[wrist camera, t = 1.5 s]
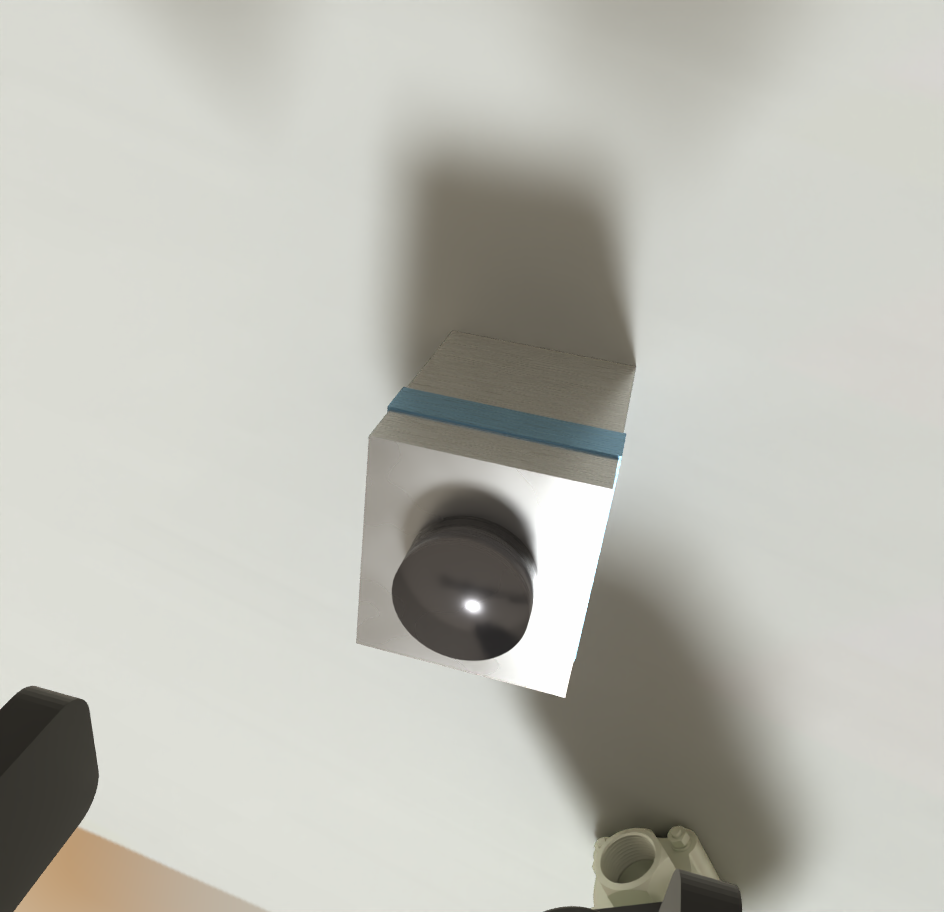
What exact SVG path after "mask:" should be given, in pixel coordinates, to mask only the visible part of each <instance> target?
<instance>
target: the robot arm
mask: <svg viewBox="0 0 944 912" xmlns="http://www.w3.org/2000/svg"><path fill="white" fill-rule="evenodd" d="M98 778H99V772H98V765H97V758H96V751H95V745H94V738H93V731H92V725H91V718H90V711H89V707H88V704H87V703H86V702H85V701H84V700H82V699H79V698H76V697H72V696H69V695H65V694H61V693H58V692H54V691H51V690H47V689H44V688H40V687H36V686H29V687H26V688H24V689H22V690H21V691H19V692H18V693H17V694H16V695H14V696H13V697H12V698H11V699H10V700H9V701H8V702H7V703H6V704H5V705H4V706H3V707H2V708H1V709H0V912H13V911H14V910H15V909H16V907H17V906H18V905H19V903H20V902H21V901H22V900H23V898H24V897H25V896H26V894H27V893H28V892H29V890H30V889H31V887H32V886H33V885H34V884H35V882H36V881H37V880H38V878H39V877H40V876H41V874H42V873H43V872H44V870H45V869H46V868H47V866H48V865H49V864H50V862H51V861H52V860H53V858H54V857H55V856H56V854H57V853H58V852H59V850H60V849H61V848H62V847H63V845H64V844H65V842H66V841H67V840H68V838H69V837H70V836H71V834H72V833H73V832H74V831H75V829H76V828H77V827H78V825H79V824H80V823H81V821H82V820H83V818H84V817H85V815H86V813H87V812H88V810H89V808H90V806H91V804H92V801H93V799H94V796H95V793H96V789H97V785H98ZM659 912H742V902H741V895H740V891H739V888H738V886H737V885H734V884H731V883H727V882H723V881H720V880H716V879H713V878H709V877H706V876H702V875H698V874H695V873H691V872H688V871H684V870H681V869H676V870H675V871H674V873H673V875H672V877H671V880H670V883H669V885H668V888H667V891H666V893H665V896H664V899H663V901H662V904H661V907H660V909H659Z"/></svg>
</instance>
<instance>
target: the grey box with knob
mask: <svg viewBox="0 0 944 912" xmlns="http://www.w3.org/2000/svg"><path fill="white" fill-rule="evenodd" d="M635 370H636V366H631V365H626V364H621V363H615V362H610V361H605V360H600V359H595V358H590V357H585V356H580V355H575V354H570V353H565V352H560V351H555V350H549V349H544V348H539V347H534V346H529V345H524V344H519V343H514V342H509V341H504V340H499V339H494V338H488V337H483V336H478V335H473V334H468V333H463V332H458V331H452V332H451V333H450V334H449V336H448V337H447V338H446V339H445V341H444V342H443V343H442V344H441V346H440V347H439V348H438V350H437V351H436V352H435V353H434V355H433V356H432V357H431V358H430V360H429V361H428V362H427V363H426V365H425V366H424V367H423V368H422V370H421V371H420V372H419V373H418V375H417V376H416V377H415V378H414V380H413V381H412V382H411V384H410V385H409V386H408V387H407V388H406V387H403V388H402V389H401V391H400V392H399V393H398V394H397V396H396V397H395V398H394V399H393V401H392V402H391V403H390V404H389V406H388V410H387V414H386V415H385V416H384V417H383V419H382V420H381V421H380V423H379V424H378V425H377V426H376V428H375V429H374V430H373V431H372V433H371V434H370V435H369V445H368V461H367V477H366V493H365V509H364V526H363V542H362V558H361V574H360V590H359V606H358V623H357V639H356V643H357V644H361V645H365V646H369V647H373V648H377V649H380V650H384V651H388V652H392V653H396V654H400V655H403V656H407V657H411V658H415V659H419V660H423V661H426V662H430V663H434V664H438V665H442V666H445V667H449V668H453V669H457V670H461V671H465V672H468V673H472V674H476V675H480V676H484V677H488V678H491V679H495V680H499V681H503V682H507V683H511V684H514V685H518V686H522V687H526V688H530V689H533V690H537V691H541V692H545V693H549V694H553V695H556V696H560V697H564V698H565V695H566V691H567V687H568V682H569V678H570V674H571V669H572V665H573V661H575V658H576V653H577V649H578V645H579V640H580V636H581V632H582V627H583V623H584V619H585V614H586V610H587V606H588V601H589V597H590V593H591V588H592V584H593V580H594V575H595V571H596V567H597V562H598V558H599V554H600V549H601V545H602V541H603V536H604V532H605V528H606V523H607V519H608V515H609V510H610V506H611V502H612V497H613V493H614V489H615V484H616V480H617V476H618V471H619V467H620V463H621V458H622V453H623V448H624V443H625V437H626V434H625V433H624V428H625V423H626V418H627V412H628V407H629V402H630V397H631V391H632V386H633V381H634V376H635Z"/></svg>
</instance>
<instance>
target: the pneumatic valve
mask: <svg viewBox="0 0 944 912" xmlns="http://www.w3.org/2000/svg"><path fill="white" fill-rule="evenodd" d="M594 847H595V851H594V854H593V858H594V862H593V865H592V868H593V870H594V872H595V874H596V880H595V885H594V894H593V899H594V907H592V908H585V907H577V906H568V907H559V908H554V909H550V910H547V911H544V912H659V909H660V907H661V904H662V901H663V899H664V896H665V893H666V891H667V888H668V885H669V883H670V880H671V877H672V875H673V873H674V871H675V870H676V869H681V870H684V871H688V872H691V873H695V874H698V875H702V876H706V877H709V878H713V879H716V880H720V878H719V877H718V875H717V873H716V871H715V869H714V867H713V865H712V864H711V862H710V860H709V858H708V856H707V854H706V853H705V851H704V849H703V847H702V845H701V843H700V841H699V840H698V838H697V836H696V834H695V833H694V832H693V831H692V830H690V829H685V828H683V826H675V827H672V828H671V829H670V831H669V832H668V834H667V838H657V837H656V836H655V834H654V833H653V831H652V830H651V829H646V828H630V829H625V830H622V831H620V832H618V833H616V834H614V835H613V836H611V837H610V838H609V837H602V838H599V839H598V840H597V842H596V843H595V845H594ZM720 881H721V880H720Z"/></svg>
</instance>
